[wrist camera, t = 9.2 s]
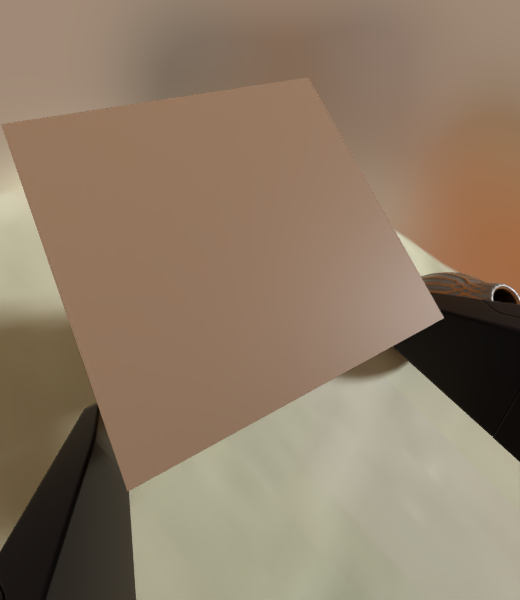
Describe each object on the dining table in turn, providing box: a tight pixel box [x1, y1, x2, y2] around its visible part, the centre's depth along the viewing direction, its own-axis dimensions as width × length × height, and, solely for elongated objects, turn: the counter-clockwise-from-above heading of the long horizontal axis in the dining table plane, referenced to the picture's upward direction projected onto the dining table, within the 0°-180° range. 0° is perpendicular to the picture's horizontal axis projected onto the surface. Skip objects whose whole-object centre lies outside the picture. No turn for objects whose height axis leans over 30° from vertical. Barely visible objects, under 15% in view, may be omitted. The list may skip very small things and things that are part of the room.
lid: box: [2, 78, 444, 492], centre depth 8 cm, size 7×7×5 cm
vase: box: [421, 272, 520, 304], centre depth 21 cm, size 7×7×9 cm
